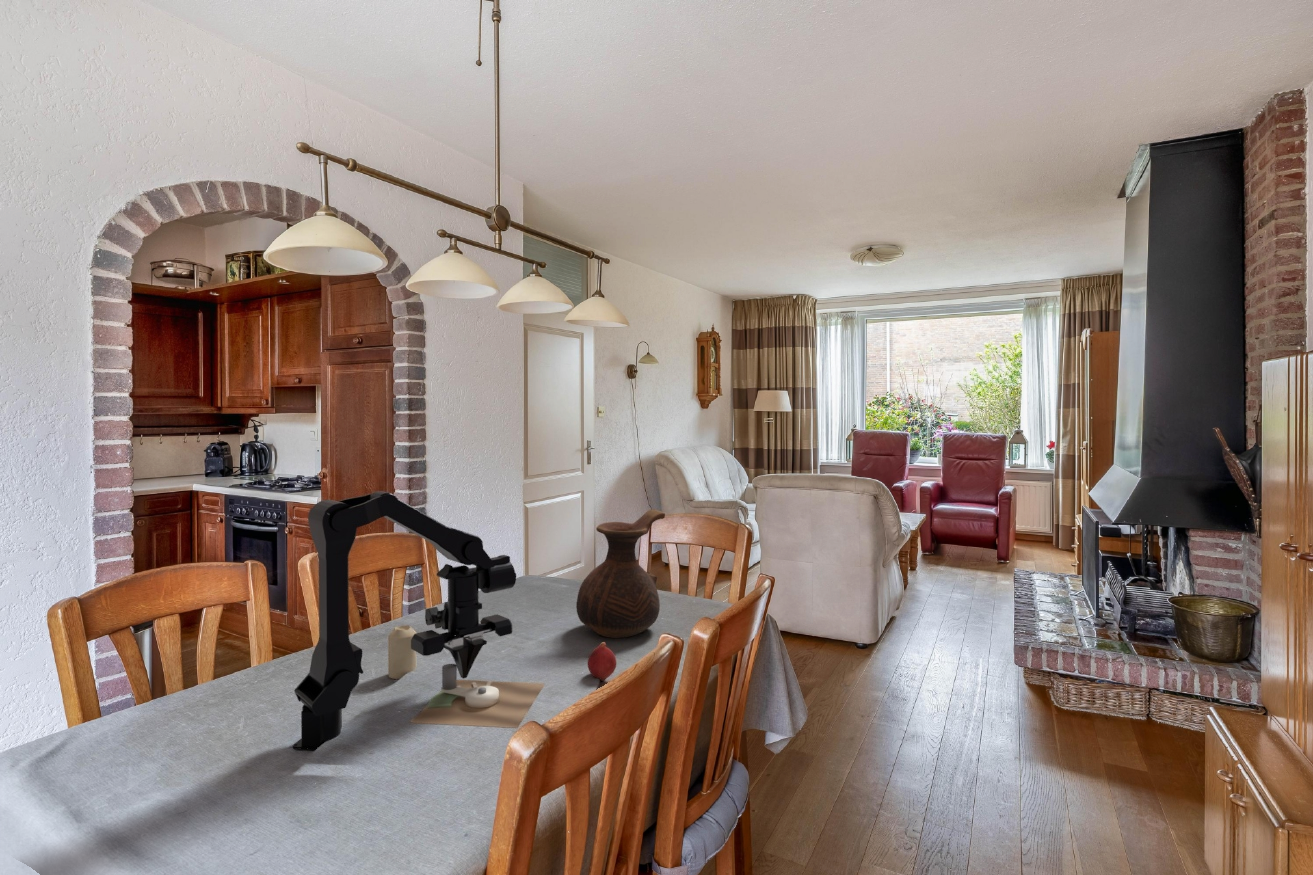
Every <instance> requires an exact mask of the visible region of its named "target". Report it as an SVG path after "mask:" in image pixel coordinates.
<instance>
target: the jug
mask: <svg viewBox="0 0 1313 875" xmlns="http://www.w3.org/2000/svg"><path fill="white" fill-rule="evenodd" d="M665 517H666V513H664V512H663V511H661V510H658V509H649V510H647V511H646V512H645V513H643V515H641V516H640V517H639V518H638V519H637V520H635V521H634V522H632V523H629V522H622V521H609V522H603V523H601V524H598V525H597V526H596V531H597V532H598V533H600V534H603V535H604V536H605V539H606V541H607V546H608V547H607V548H608V549H607V553H606V556H605V560H604V561H603V562H602V563H600V564H598V565H597V566H596V567H595V568H593V569H592V570H591V571H590V572H589V574H587V576H586V577H585V578H584V579H583V580H582V582H581V584H580V586H579V589H578V592H577V598H576V614H577V616H578V619H579V621H580V622H581V623H582V624H583V625H585V626H586V627H587V628H590V630H592V631H594V632H595V633H596V634H598V635H601V636H602V637H605V638H611V639H620V638H621V639H622V638H629V637H633V636H636V635H639V634H641V633H642V632H643V633H644V631H646V630H647V629H649V628H650V627H651V626H653V624H655V622H656V621H657V619H658V618H659V615H660V607H661V606H660V605H661V603H660V597H659V593H658V589H657V580H658V577H657V576H656V575H655V574H653V573H651V572H650V571H646V570H645V569H644V568H643V567H642V566H641V565H640V564H639V561H638V560H637V557H636V545H637V542H638V540H639V539H640V538H641V537H643V536H644V535H648V533H649V531H650V528H652V525H653V523H654V522H656V521H658V520H663V519H665Z"/></svg>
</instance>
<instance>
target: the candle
mask: <svg viewBox="0 0 1313 875" xmlns="http://www.w3.org/2000/svg"><path fill="white" fill-rule="evenodd" d="M416 633H417V631H415V630H414V628H413V627H412V626H410V625H408V624H407V625H405V624H404V625H403V624H402V625H400V626H394V628H393V629H392V630H391V632H390V633H389V634H388V635H387V642H388V643H387V644H388V645H387V647H388V648H387V651H388V654H387V656H388V657H387V660H388V663H387V664H388V668H387V670H388V671H387V672H388V678H390V679H393V680H400V679H402V678H403V677H404V676H406V675H407V674H408V673H411V672H414V671H415V670H416V669H417V652H416V651H414V650H413V649H411V639H412V637H413V636H414V634H416Z"/></svg>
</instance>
